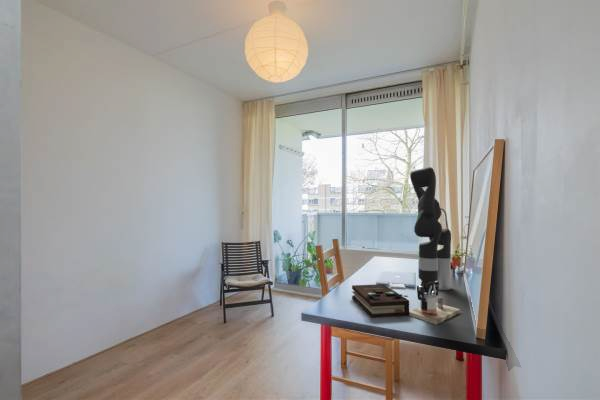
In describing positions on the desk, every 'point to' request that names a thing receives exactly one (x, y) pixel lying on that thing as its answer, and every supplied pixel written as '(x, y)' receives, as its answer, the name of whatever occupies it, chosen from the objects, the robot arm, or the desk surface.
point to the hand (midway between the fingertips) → (428, 308)
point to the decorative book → (380, 301)
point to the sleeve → (430, 304)
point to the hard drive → (397, 286)
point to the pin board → (437, 317)
